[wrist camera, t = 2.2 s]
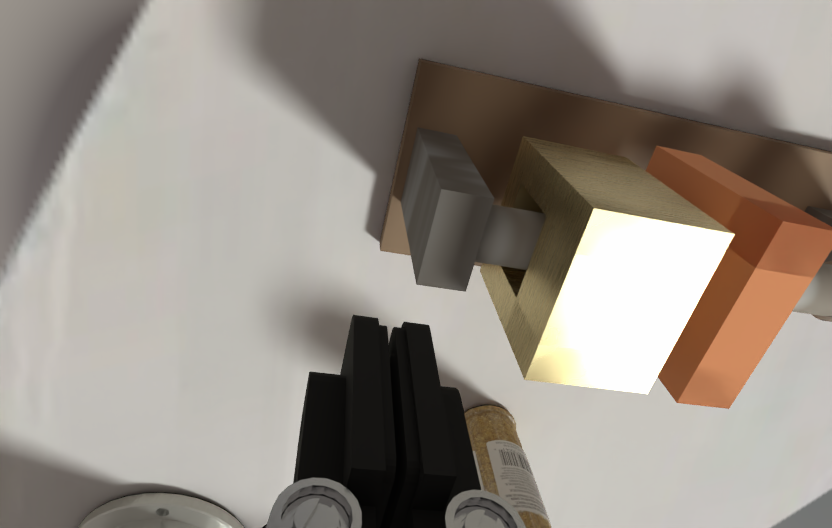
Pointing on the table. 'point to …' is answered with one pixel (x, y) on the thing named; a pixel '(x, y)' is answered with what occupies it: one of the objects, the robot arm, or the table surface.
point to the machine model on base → (565, 124)
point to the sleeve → (601, 268)
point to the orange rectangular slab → (737, 277)
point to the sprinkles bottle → (504, 463)
